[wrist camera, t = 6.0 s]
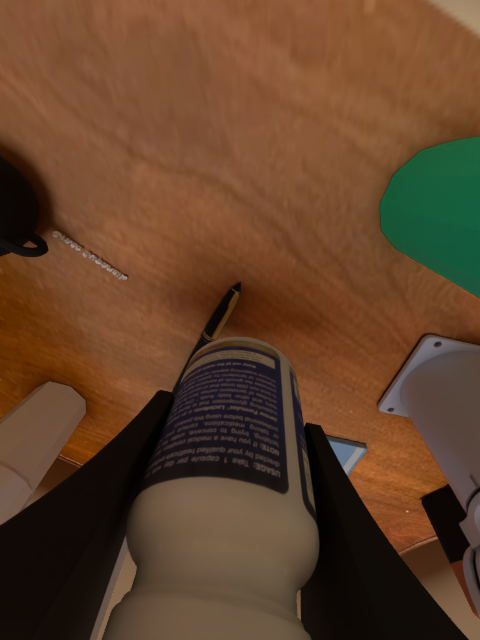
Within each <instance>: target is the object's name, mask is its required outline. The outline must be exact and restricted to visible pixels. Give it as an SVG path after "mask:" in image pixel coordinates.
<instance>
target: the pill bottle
mask: <svg viewBox="0 0 480 640" xmlns="http://www.w3.org/2000/svg"><path fill="white" fill-rule="evenodd" d="M126 540H127V545H128V549H129V552H130V555H131V557H132V559H133V561H134V562H135V564H136V565H137V571H136V575H135V578H134V581H133V585H132V588H131V591H129V592H127V593H126V594H125V595H124V597H123V598H122V600H121V602H120V603H118V604H117V605H116V606H115V607H114V608H113V609H112V611H111V613H110V616H109V620H108V622H107V625H106V628H105V632H104V634H103V637H102V640H311V637H310V635H309V634H308V633H307V632H306V631H305V630H304V627H303V624H302V622H301V621H300V619H299V618H298V617H297V604H296V594H297V591H298V590H300V589H301V588H302V587H303V586H304V585H305V584H306V583H307V581H308V580H309V579H310V577H311V576H312V574H313V572H314V570H315V567H316V564H317V561H318V556H319V530H318V523H317V515H316V509H315V502H314V495H313V488H312V481H311V474H310V467H309V460H308V453H307V446H306V438H305V431H304V424H303V417H302V410H301V402H300V396H299V390H298V383H297V379H296V374H295V371H294V369H293V367H292V365H291V363H290V362H289V360H288V359H287V358H286V357H285V356H284V355H283V354H282V353H281V352H280V351H279V350H278V349H276V348H275V347H273V346H272V345H270V344H268V343H266V342H264V341H261V340H258V339H254V338H249V337H226V338H221V339H218V340H215V341H213V342H211V343H209V344H207V345H205V346H204V347H202V348H201V349H200V350H198V351H197V352H196V353H195V355H194V356H193V357H192V358H191V360H190V362H189V364H188V366H187V368H186V370H185V373H184V375H183V378H182V380H181V383H180V385H179V388H178V390H177V393H176V395H175V398H174V400H173V403H172V405H171V408H170V410H169V413H168V415H167V418H166V420H165V423H164V425H163V428H162V430H161V433H160V435H159V438H158V440H157V443H156V445H155V448H154V450H153V453H152V455H151V458H150V460H149V462H148V465H147V467H146V470H145V472H144V475H143V477H142V480H141V482H140V485H139V487H138V490H137V492H136V495H135V497H134V500H133V503H132V506H131V508H130V511H129V515H128V518H127V525H126Z"/></svg>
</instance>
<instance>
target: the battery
mask: <svg viewBox="0 0 480 640" xmlns="http://www.w3.org/2000/svg"><path fill="white" fill-rule="evenodd" d="M422 505H423V507H424V509H425V511H426V513H427V515H428V518H429V520H430V522H431V524H432V526H433V528H434V530H435V533H436V535H437V537H438V539H439V541H440V543H441V545H442V547H443V550H444V552H445V554H446V556H447V558H448V560H449V562H450V564H451V567H452V569H453V571H454V573H455V575H456V577H457V579H458V582H459V584H460V585H461V588H462V590H463V592H464V594H465V596H466V598H467V601H468V603H469V605H470V607H471V609H472V611H473V613H474V614H475V615H476V616H477V617H478V618H480V617H479V614H478V612H477V610H476V608H475V606H474V603H473V601H472V599H471V596H470V593H469V590H468V587H467V584H466V580H465V576H464V570H463V557H464V554H465V551H466V549H467V548H468V547H469V546H470V543H469V541H468V540H467V538H466V536H465V534H464V532H463V531H462V529H461V527H460V525H459V523H460V522H462V521H463V520H464V519H465V518H466V517H467V514H466V512H465V510H464V509H463V507H462V505H461V504H460V502H459V500H458V499H457V497H456V495H455V493H454V492H453V490H452V488H451V487H450V486H449V487H447V488H445V489H443V490H441V491H438V492H436V493H434V494H432V495H430V496H428V497H426V498H424V499H422Z"/></svg>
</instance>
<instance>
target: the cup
mask: <svg viewBox="0 0 480 640" xmlns="http://www.w3.org/2000/svg"><path fill="white" fill-rule="evenodd" d="M85 414H86V401H85V399H84V398H83V397H81V396H80V395H79V394H78V393H77V392H76V391H75V390H74V389H73V388H72V387H70V386H67V385H63V384H59V383H55V382H51V381H49V382H47V383H45V384H43V385H41V386H39V387H37V388H36V389H35V390H34V391H33V392H31V393H30V394H29V395H28V396H27V397H26V398H25V399H23V400H22V401H21V402H20V403H19V404H18V405H16V406H15V407H14V408H13V409H12V410H10V411H9V412H8V413H7V414H6V415H5V416H3V417H2V418H1V419H0V525H1V524H3V523H4V522H6V521H7V520H9V519H10V518H12V517H13V516H15V515H16V514H18V513H19V512H21V511H22V510H23V509H25V507H26V506H27V504H28V502H29V501H30V500H31V496H32V493H33V491H34V490H35V489H36V487H37V486H38V484H39V483H40V481H41V479H42V478H43V477H44V475H45V473H46V472H47V470H48V469H49V467H50V466H51V465H52V463H53V462H54V460H55V458H56V457H57V456H58V454H59V453H60V451H61V450H62V448H63V447H64V445H65V444H66V442H67V440H68V439H69V437H70V436H71V434H72V433H73V431H74V430H75V428H76V427H77V425H78V424H79V422H80V421H81V420H82V418H83V417H84V416H85Z"/></svg>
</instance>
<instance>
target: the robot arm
mask: <svg viewBox="0 0 480 640" xmlns="http://www.w3.org/2000/svg"><path fill="white" fill-rule="evenodd" d="M436 342H438V343H437V344H435V343H436ZM174 394H175V393H172V392H168V391H163V390H159V391H157V393H156V394H155V395H154V397H153V398H152V399H151V400H150V401H149V403H148V404H147V405H146V406H145V407H144V408H143V409H142V410H141V411H140V413H139V414H138V415H137V416H136V417H135V418H134V419H133V420H132V421H131V422H130V423H129V424H128V425H127V426H126V427H125V428H124V429H123V430H122V431H121V432H120V433H119V434H118V435H117V436H116V437H115V438H114V439H113V440H111V441H110V442H109V443H108V444H107V445H106V446H105V447H104V448H103V449H102V450H101V451H99V452H98V453H97V454H96V455H95V456H94V457H93V458H91V459H90V460H89V461H88V462H87V463H85V464H84V465H83V466H82V467H80V468H79V469H78V470H77V471H76V472H74V473H73V474H72V475H70V476H69V477H68V478H66V479H65V480H64V481H63V482H61V483H60V484H59V485H58V486H56V487H55V488H53V489H52V490H51V491H49V492H48V493H47V494H45V495H44V496H42V497H41V498H40V499H38V500H37V501H35V502H34V503H32V504H31V505H29V506H28V507H26V508H25V509H23V510H22V511H21V512H19V513H18V514H16V515H15V516H13V517H12V518H10V519H9V520H7V521H6V522H4V523H3V524H1V525H0V640H90V637H91V634H92V631H93V628H94V625H95V622H96V619H97V616H98V613H99V611H100V608H101V605H102V602H103V599H104V596H105V593H106V590H107V587H108V584H109V581H110V579H111V576H112V573H113V570H114V567H115V564H116V561H117V559H118V556H119V553H120V550H121V547H122V545H123V542H124V539H125V536H126V525H127V518H128V515H129V511H130V508H131V506H132V503H133V500H134V497H135V495H136V492H137V490H138V487H139V485H140V482H141V480H142V477H143V475H144V472H145V470H146V467H147V465H148V462H149V460H150V458H151V455H152V453H153V450H154V448H155V445H156V443H157V440H158V438H159V435H160V433H161V430H162V428H163V425H164V423H165V420H166V418H167V415H168V413H169V410H170V408H171V405H172V403H173V400H174ZM378 409H379V410H380V411H381V412H385V413H390V414H394V415H399V416H403V417H408V418H411V420H412V422H413V423H414V425H415V427H416V429H417V430H418V432H419V434H420V435H421V437H422V439H423V440H424V442H425V444H426V446H427V447H428V449H429V451H430V452H431V454H432V456H433V458H434V459H435V461H436V463H437V464H438V466H439V468H440V470H441V471H442V473H443V475H444V476H445V478H446V480H447V481H448V483H449V485H450V487H451V488H452V490H453V492H454V493H455V495H456V497H457V499H458V500H459V502H460V504H461V505H462V507H463V509H464V510H465V512H466V514H467V517H466V518H465V519H464V520H463V521H462V522H460V523H459V525H460V527H461V529H462V531H463V532H464V534H465V536H466V538H467V540H468V541H469V543H470V546H469V547H468V548H467V549H466V551H465V554H464V557H463V570H464V576H465V580H466V584H467V587H468V590H469V593H470V596H471V599H472V601H473V603H474V606H475V608H476V610H477V612H478V614H479V617H480V345H475V344H471V343H466V342H462V341H458V340H453V339H449V338H444V337H440V336H435V335H427V336H425V337H423V339H422V340H421V341H420V343H419V344H418V346H417V347H416V349H415V350H414V352H413V353H412V355H411V356H410V358H409V359H408V361H407V362H406V364H405V365H404V367H403V368H402V369H401V371H400V372H399V374H398V375H397V377H396V378H395V380H394V381H393V383H392V384H391V386H390V387H389V389H388V390H387V392H386V393H385V395H384V396H383V398H382V399H381V401H380V402H379V404H378ZM304 431H305V438H306V446H307V453H308V460H309V467H310V474H311V481H312V488H313V495H314V502H315V509H316V515H317V523H318V530H319V556H318V561H317V564H316V567H315V570H314V572H313V574H312V576H311V577H310V579H309V580H308V581H307V583H306V584H305V585H304V586H303V587H302V588H301V622H302V624H303V627H304V630H305V631H306V632H307V633H308V634H309V635H310V637H311V640H469V639H468V638H467V637H466V636H465V635H464V634H463V633H462V632H461V630H460V629H459V628H458V627H457V626H456V625H455V624H454V623H453V622H452V620H451V619H450V618H449V617H448V615H447V614H446V613H445V612H444V611H443V610H442V608H441V607H440V606H439V605H438V604H437V602H436V601H435V600H434V599H433V598H432V597H431V595H430V594H429V593H428V592H427V590H426V589H425V588H424V587H423V586H422V584H421V583H420V581H419V580H418V579H417V578H416V576H415V575H414V574H413V573H412V571H411V570H410V569H409V567H408V566H407V565H406V564H405V562H404V561H403V560H402V558H401V557H400V556H399V554H398V553H397V552H396V550H395V549H394V548H393V546H392V545H391V544H390V542H389V541H388V539H387V538H386V536H385V535H384V534H383V532H382V531H381V529H380V528H379V526H378V525H377V523H376V522H375V520H374V519H373V517H372V516H371V514H370V513H369V511H368V510H367V508H366V506H365V505H364V503H363V502H362V500H361V498H360V497H359V495H358V493H357V492H356V490H355V488H354V487H353V485H352V483H351V481H350V480H349V478H348V476H347V474H346V473H345V471H344V469H343V467H342V465H341V464H340V462H339V460H338V458H337V456H336V454H335V452H334V451H333V449H332V447H331V445H330V443H329V441H328V439H327V437H326V435H325V433H324V431H323V429H322V427H321V426H320V425H316V424H311V423H306V425H305V426H304Z"/></svg>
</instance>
